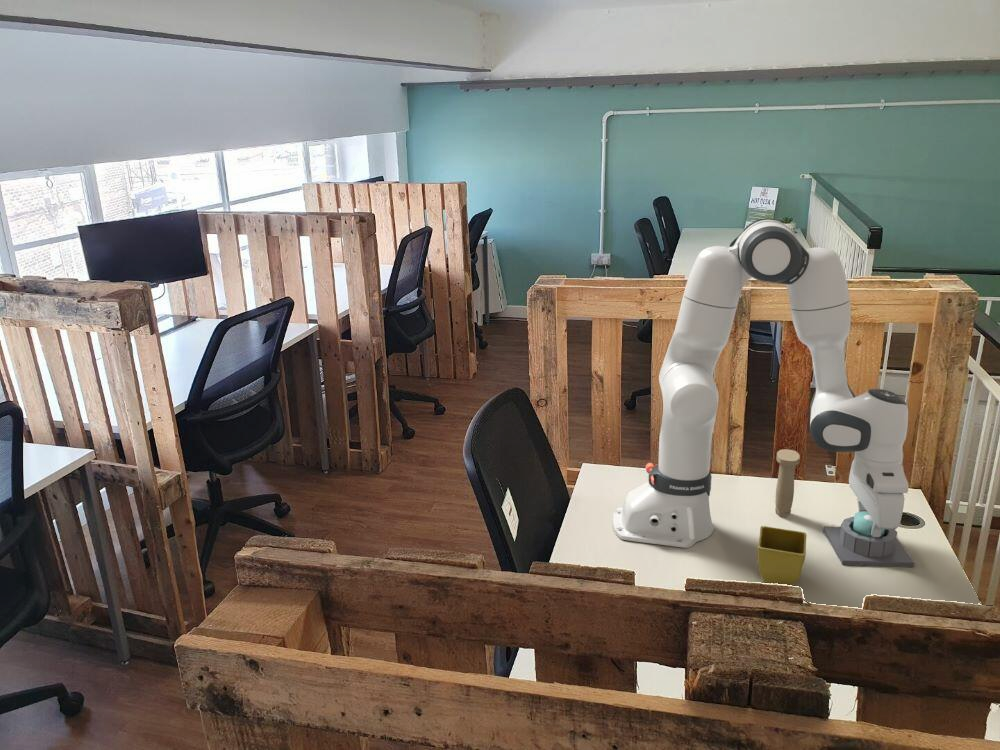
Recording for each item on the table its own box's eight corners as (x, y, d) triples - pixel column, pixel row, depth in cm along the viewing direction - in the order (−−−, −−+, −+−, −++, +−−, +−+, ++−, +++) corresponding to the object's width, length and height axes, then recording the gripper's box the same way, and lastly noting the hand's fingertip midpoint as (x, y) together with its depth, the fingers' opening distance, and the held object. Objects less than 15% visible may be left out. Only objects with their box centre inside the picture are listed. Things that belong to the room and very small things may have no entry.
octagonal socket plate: (842, 564, 158) (844, 545, 157) (822, 530, 172) (824, 511, 170) (914, 566, 157) (917, 547, 155) (888, 531, 170) (891, 513, 169)
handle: (771, 519, 177) (776, 459, 172) (772, 506, 183) (777, 448, 178) (793, 522, 175) (799, 462, 171) (793, 509, 181) (799, 450, 176)
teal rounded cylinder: (858, 540, 161) (860, 524, 159) (848, 525, 166) (850, 510, 165) (888, 541, 160) (890, 525, 159) (877, 526, 166) (880, 511, 164)
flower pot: (801, 595, 149) (805, 554, 146) (754, 587, 152) (757, 547, 149) (802, 571, 157) (806, 532, 154) (757, 563, 160) (760, 525, 157)
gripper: (845, 446, 168) (838, 502, 173) (878, 488, 149) (869, 551, 153) (875, 446, 168) (867, 503, 172) (912, 489, 148) (902, 552, 153)
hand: (868, 526), depth 163 cm, fingers closed on teal rounded cylinder, 6 cm apart
